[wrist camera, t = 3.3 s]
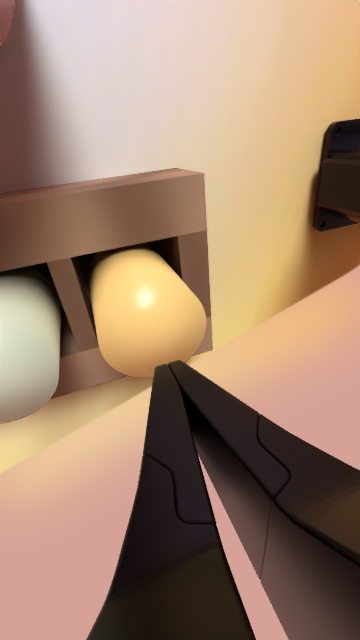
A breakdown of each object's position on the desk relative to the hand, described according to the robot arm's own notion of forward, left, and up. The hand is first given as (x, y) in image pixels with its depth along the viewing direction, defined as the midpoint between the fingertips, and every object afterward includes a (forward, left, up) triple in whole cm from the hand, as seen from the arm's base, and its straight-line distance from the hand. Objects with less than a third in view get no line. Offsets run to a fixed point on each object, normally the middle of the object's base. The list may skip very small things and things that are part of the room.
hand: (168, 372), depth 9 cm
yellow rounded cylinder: (0, 0, -8) cm, 8 cm away
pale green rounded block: (+6, 0, -8) cm, 10 cm away
